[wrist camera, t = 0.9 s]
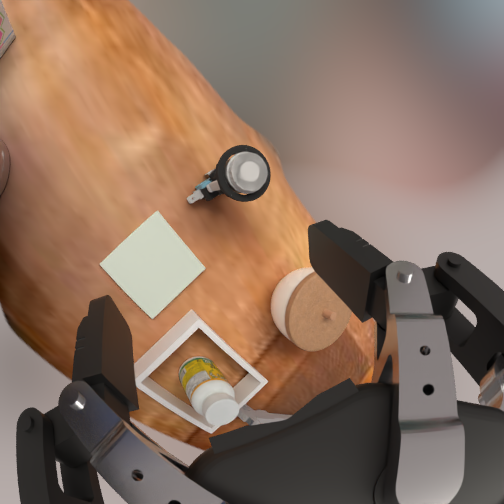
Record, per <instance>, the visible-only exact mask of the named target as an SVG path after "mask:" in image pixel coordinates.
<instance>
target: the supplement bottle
mask: <svg viewBox="0 0 504 504" xmlns="http://www.w3.org/2000/svg"><path fill="white" fill-rule="evenodd" d="M179 379H180V382H181V384H182V386H183V388H184V390H185V392H186V394H187V396H188V398H189V400H190V403H191V404H192V406H193V408H194V410H195V411H196V412H197V413H199V414H201V415H203V416H204V417H205V418H206V420H207V421H208V422H209V423H210V424H212V425H217V426H220V425H225V424H228V423H230V422H231V421H233V420H234V419H235V418H236V417H237V415H238V413H239V405H238V403H237V402H236V400H235V392H234V390H233V388H232V386H231V385H230V384H229V382H228V381H227V380H226V379H225V377H224V376H223V374H222V373H221V372H220V371H219V369H218V368H217V367H216V365H215V364H214V363H213V362H212V361H211V360H210V359H208V358H205V357H201V356H196V357H192V358H189V359H188V360H186V361H185V362H184V363H183V364H182V365H181V367H180V369H179Z"/></svg>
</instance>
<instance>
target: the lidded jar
mask: <svg viewBox="0 0 504 504" xmlns="http://www.w3.org/2000/svg"><path fill="white" fill-rule="evenodd" d="M351 313H352V311H351V310H350V309H349V307H348V306H347V305H346V304H345V303H344V302H343V301H342V300H341V299H340V298H339V297H338V296H337V295H336V293H335V292H334V291H333V290H332V289H331V288H330V287H329V286H328V285H327V284H326V283H325V282H324V281H323V280H322V279H321V277H320V276H319V275H318V274H317V273H316V272H315V271H314V269H313V268H312V267H308V268H300V269H297V270H294V271H292V272H290V273H289V274H287V275H286V276H285V277H284V278H282V279H281V280H280V282H279V283H278V284H277V286H276V287H275V289H274V292H273V294H272V298H271V314H272V318H273V321H274V323H275V325H276V326H277V328H278V329H279V331H280V332H281V333H282V334H283V335H284V336H285V337H286V338H287V339H289V340H290V341H292V342H293V343H294V344H295V345H296V346H297V347H299V348H301V349H302V350H305V351H318V350H321V349H324V348H326V347H328V346H329V345H331V344H332V343H333V342H334V341H336V340H337V339H338V338H339V336H340V335H341V334H342V332H343V331H344V329H345V328H346V326H347V324H348V322H349V319H350V317H351Z"/></svg>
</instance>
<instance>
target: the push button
mask: <svg viewBox="0 0 504 504" xmlns="http://www.w3.org/2000/svg"><path fill="white" fill-rule="evenodd" d="M234 154H235V155H234ZM231 155H234V156H233V157H232V158H231V159H229V157H230V156H231ZM228 159H229V160H228ZM206 174H208V175H209V177H210V178H208V179H207V180H205V181H203V182H202V183H200V184H199V185H197V186H196V187H195V188H196V189H197V190H196V191H194V192H193V194H192V195H190V196H189V197H187V200H188V202H189V203H190V204H191V203H193V202H195V201H196V200H199V199H204V198H205V200H206V201H210V200H212V199H213V198H215V197H216V196H218V195H221V194H225V195H226V196H228V197H230V198H232V199H234V200H237V201H242V202H247V201H253V200H255V199H257V198H259V197H260V196H262V195H263V194H264V192H265V191H266V190H267V188H268V185H269V182H270V167H269V164H268V162H267V160H266V158H265V157H264V155H263V154H262V153H261V152H260V151H258V150H257V149H255V148H253V147H251V146H247V145H239V146H235V147H232V148H230V149H229V150H227V151H226V152H225V153H224V154H223V155H222V156H221V158H220V160H219V162H218V164H217V165H216V169H213V170H211V171H210V172H208V173H206ZM206 174H205V175H206ZM238 193H245V194H247V195H241V194H238ZM248 193H249V194H248ZM192 197H193V200H192Z"/></svg>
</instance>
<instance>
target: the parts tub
mask: <svg viewBox="0 0 504 504" xmlns="http://www.w3.org/2000/svg"><path fill="white" fill-rule="evenodd" d="M198 328H200V329H201V330H202V331H203V332H204V333H205V334H206V335H207V336H209V337H210V338H211V339H212V340H213V341H214V342H215V343H216V344H217V345H218V346H219V347H220V348H222V349H223V350H224V351H225V352H226V353H227V354H228V355H229V356H230V357H232V358H233V359H234V360H235V361H236V362H237V363H238V364H240V365H241V366H242V367H243V368H244V369H245V370H247V371H248V372H249V373H248V374H247V375H246V376H245V377H244V378H243V379H242V380H241V381H240V382H239V383H238V384H237V385H236V386H234V387H233V390H234V392H235V400H236V402H237V403H238V405H239V409H240V408H241V407H242V406H243V405H244V404H246V403H247V402H248V401H249V400H250V399H251V398H252V397H253V396H254V395H255V394H256V393H257V392H258V391H259V390H260V389H261V388H262V387H263V386H264V385H265V384H266V383H267V382H268V381H267V380H266V379H265V378H264V377H263V376H262V375H261V374H260V373H259V372H258V371H257V370H256V369H255V368H254V367H252V366H251V365H250V364H249V363H248V362H247V361H246V360H245V359H243V358H242V357H241V356H240V355H239V354H238V353H237V352H236V351H235V350H234V349H233V348H231V347H230V346H229V345H228V344H227V343H226V342H225V341H224V340H223V339H222V338H221V337H220V336H219V335H218V334H217V333H216V332H215V331H214V330H212V329H211V328H210V327H209V326H208V325H207V324H206V323H205V322H204V321H203V320H202V319H201V318H200V317H199V316H198V315H197V314H196V313H195V312H194V311H193V310H192V309H191V310H190V311H189V312H188V313H187V314H186V315H185V316H184V317H182V318H181V319H180V320H179V321H178V322H177V323H176V324H175V325H174V326H173V327H172V328H171V329H170V330H169V331H168V332H167V333H166V334H165V335H164V336H163V337H162V338H161V339H160V340H159V341H157V342H156V343H155V344H154V345H153V346H152V347H151V348H150V349H149V350H148V351H147V352H146V353H145V354H144V355H143V356H142V357H141V358H140V359H139V360H138V361H137V362H136V363H135V364H134V372H135V381H136V387H138V388H139V389H140V390H142V391H143V392H145V393H146V394H147V395H149V396H150V397H152V398H153V399H155V400H156V401H158V402H159V403H161V404H162V405H164V406H165V407H167V408H168V409H170V410H171V411H173V412H175V413H176V414H178V415H179V416H181V417H183V418H184V419H186V420H188V421H189V422H191V423H193V424H195V425H196V426H198V427H200V428H202V429H203V430H205V431H207V432H209V433H211V434H212V433H213V432H214V431H215V430H216V429H218V428H219V427H220V426H221V425H220V426H217V425H212V424H210V423H209V422H208V421H207V420H206V418H205V417H204V416H203V415H201V414H199V413H197V412H196V411H195V410H194V408H192V407H191V406H189V405H188V404H186V403H185V402H183V401H182V400H180V399H179V398H177V397H176V396H174V395H173V394H171V393H170V392H169V391H167V390H166V389H164V388H163V387H162V386H160V385H159V384H158V383H156V382H155V381H153V380H152V379H151V378H150V377H148V376H149V375H150V374H151V373H152V372H153V371H154V370H155V369H156V368H157V367H158V366H159V365H160V364H161V363H162V362H163V361H164V360H165V359H167V358H168V357H169V356H170V355H171V354H172V353H173V352H174V351H175V350H176V349H177V348H178V347H179V346H180V345H181V344H182V343H183V342H184V341H185V340H186V339H188V338H189V337H190V336H191V335H192V334H193V333H194V332H195V331H196V330H197V329H198Z"/></svg>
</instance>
